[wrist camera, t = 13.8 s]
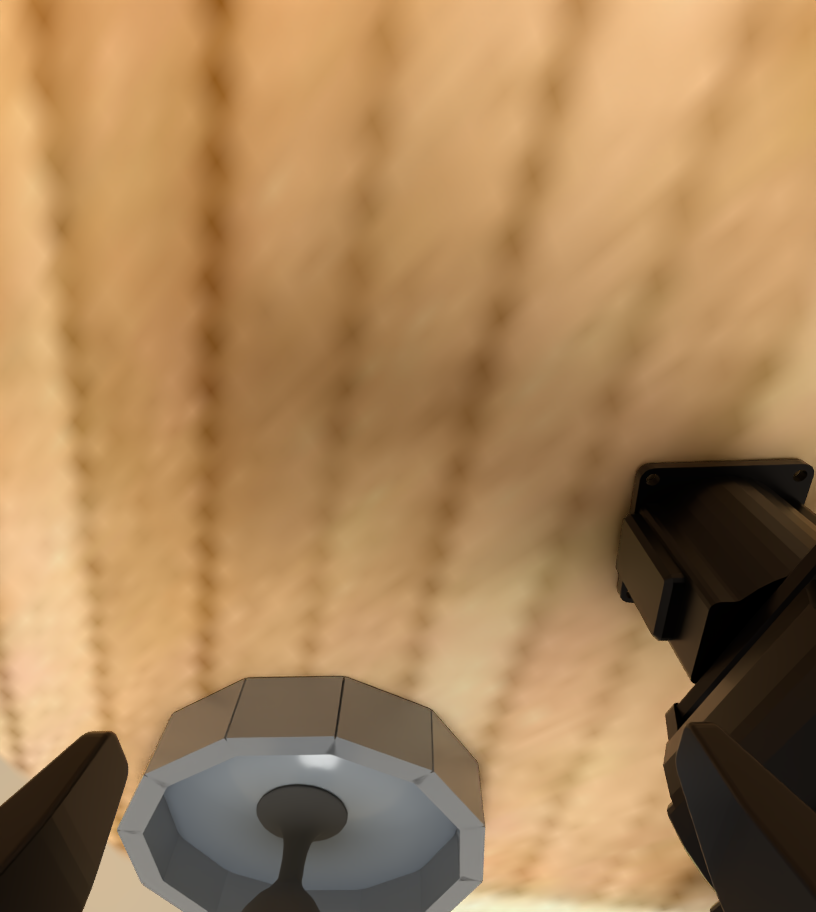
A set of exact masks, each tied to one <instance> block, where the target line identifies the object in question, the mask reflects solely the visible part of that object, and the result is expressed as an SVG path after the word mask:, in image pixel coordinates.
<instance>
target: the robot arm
mask: <svg viewBox="0 0 816 912" xmlns="http://www.w3.org/2000/svg"><path fill="white" fill-rule="evenodd" d="M799 470H800V472H799V474H797V475H796V476H793V475H794V474H795V473H796V472H797V471H799ZM651 474H656V475H655V477H654V478H653V479H652V480H649V481H647V480H646V479H647V477H648V476H649V475H651ZM813 476H814V469H813V467H812V466H810V465H809V464H807V463H806V462H804V461H803V460H799V459H787V460H751V461H716V462H680V463H650V464H646V465H644V466H642V467H641V468H640V469H639V470H638V471H637V474H636V478H635V484H634V490H633V495H632V501H631V507H630V513H629V514H627V516H626V517H625V518H624V519H623V524H622V530H621V536H620V543H619V549H618V555H617V561H616V569H617V571H618V573H619V579H618V585H617V591H618V593H619V595H620V597H621V599H622V600H623V601H625V602H629V603H635V605H636V606H637V608H638V610H639V612H640V614H641V616H642V618H643V619H644V621H645V623H646V625H647V627H648V629H649V630H650V632H651V634H652V635H653V636H654V637H655V638H656V639H657V640H658V641H668V642H669V643H670V645H671V647H672V649H673V650H674V652H675V654H676V656H677V657H678V659H679V661H680V663H681V664H682V666H683V668H684V670H685V671H686V673H687V675H688V677H689V678H690V680H691V681H692V682H693V683H694V684H695V685H694V687H693V688H692V689H691V690H690V691H689V692H688V694H687V695H686V696H685V697H684V698H683V699H682V701H681V702H680V703H675V704H673V706H672V707H671V708H670V709H669V710H668V712H667V713H666V715H665V717H666V725H667V732H668V740H669V741H668V742H667V744H666V750H665V757H664V764H663V767H664V771H665V776H666V780H667V784H668V789H669V793H670V797H671V800H672V802H671V803H670V804H669V805H668V808H667V812H668V816H669V819H670V821H671V823H672V825H673V827H674V829H675V831H676V833H677V835H678V837H679V839H680V841H681V843H682V845H683V847H684V849H685V851H686V852H687V854H688V855H689V857H690V858H691V860H692V861H693V863H694V864H695V866H696V867H697V869H698V870H699V872H700V873H701V875H702V876H703V878H704V879H705V880H706V882H707V883H708V884H709V885H710V886H711V888H712V889H713V890H714V891H715V892H716V894H717V896H718V899H719V901H718V902H717V903H716V904H714V905H713V906H712V907H711V909H710V912H816V514H815V513H813V512H812V511H811V510H810V509H808V508H807V507H806V506H804V503H805V500H806V497H807V494H808V491H809V488H810V485H811V482H812V479H813ZM627 591H628V592H627ZM127 776H128V763H127V760H126V757H125V755H124V752H123V750H122V748H121V745H120V743H119V740H118V738H117V736H116V734H115V733H113V732H112V731H92V732H88V733H85V734H84V735H82V736H81V737H79V738H78V739H77V740H76V741H75V742H74V743H73V744H71V745H70V746H69V747H68V748H67V749H66V750H64V751H63V752H62V753H61V754H60V755H59V756H58V757H56V758H55V759H54V760H53V761H52V762H51V763H49V764H48V765H47V766H46V767H45V768H44V769H43V770H41V771H40V772H39V773H38V774H37V775H36V776H34V777H33V778H32V779H31V780H30V781H29V782H28V783H26V784H25V785H24V786H23V787H22V788H21V789H20V790H18V791H17V792H16V793H15V794H14V795H13V796H11V797H10V798H9V799H8V800H7V801H6V802H4V803H3V804H2V805H1V806H0V912H82V911H83V909H84V906H85V904H86V901H87V899H88V896H89V894H90V891H91V889H92V886H93V883H94V880H95V877H96V874H97V871H98V868H99V865H100V862H101V859H102V856H103V852H104V849H105V846H106V843H107V840H108V837H109V834H110V831H111V827H112V824H113V821H114V818H115V815H116V812H117V809H118V806H119V802H120V799H121V796H122V793H123V790H124V787H125V784H126V780H127Z"/></svg>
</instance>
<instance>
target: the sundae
mask: <svg viewBox="0 0 816 912" xmlns="http://www.w3.org/2000/svg"><path fill="white" fill-rule="evenodd" d="M256 812H257V817H258V819H259V821H260V822H261V824H262V825H263V827H264V828H265V829H266V830H268V831H269V832H270V833H272V834H273V835H275V836H277V837H280V838H283V856H282V862H281V867H280V871H279V876H278V879H277V880H276V881H275V882H274V883H273V884H272V885H271V886H270V887H269V888H267V889H265V890H263V891H262V892H260V893H259V894H258V895H257V896H256V897H255V898H254V899H253V900H252V901H250V902H249V903H248V904H247V905H246V906H245V908H244V909H243V910H242V911H241V912H320V910H319V908H318V907H317V905H316V903H315V901H314V899H313V898H312V897H311V896H310V895H309V894H308V893H307V892H306V891H305V889H304V888H303V886H302V878H303V872H304V865H305V861H306V857H307V853H308V850H309V848H310V845H311V843H312V842H315V841H321V840H326V839H328V838H331V837H333V836H335V835H337V834H338V833H339V832H340V831H341V830H342V829H343V828H344V826H345V825H346V823H347V818H348V813H347V810H346V808H345V806H344V805H343V803H342V802H341V800H339V799H338V798H337V797H336V796H334V795H333V794H331V793H330V792H328V791H326V790H323V789H321V788H317V787H314V786H308V785H288V786H283V787H278V788H276V789H274V790H272V791H270V792H268V793H267V794H265V795H264V796H263V797H262V798H261V799H260V801H259V802H258V804H257V809H256Z"/></svg>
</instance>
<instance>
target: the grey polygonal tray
mask: <svg viewBox="0 0 816 912" xmlns="http://www.w3.org/2000/svg"><path fill="white" fill-rule="evenodd" d="M288 785H308V786H314V787H317V788H321V789H323V790H326V791H328V792H330V793H331V794H333V795H334V796H336V797H337V798H338V799H339V800H341V802H342V803H343V805H344V806H345V808H346V810H347V813H348V818H347V823H346V825H345V826H344V828H343V829H342V830H341V831H340V832H339V833H338V834H337V835H335V836H333V837H331V838H328V839H326V840H321V841H315V842H312V843H311V845H310V848H309V850H308V853H307V857H306V861H305V865H304V872H303V878H302V886H303V888H304V889H305V891H306V892H307V893H308V894H309V895H310V896H311V897H312V898H313V899H314V901H315V903H316V905H317V907H318V908H319V910H320V912H451V911H452V910H453V909H454V908H455V907H456V906H457V905H458V904H459V903H460V902H461V901H462V900H463V899H465V898H466V897H467V896H468V895H469V894H470V893H471V892H472V891H473V890H474V889H475V888H476V887H478V886H479V885H480V884H481V883H482V881H483V864H484V840H485V822H484V813H483V804H482V795H481V786H480V777H479V768H478V763H477V761H476V760H475V759H474V758H473V757H472V755H471V754H470V753H469V752H468V751H467V750H466V749H465V747H464V746H463V745H462V744H461V743H460V742H459V740H458V739H457V738H456V737H455V736H454V735H453V734H452V732H451V731H450V730H449V729H448V728H447V727H446V726H445V724H444V723H443V722H442V721H441V720H440V719H439V718H438V716H437V715H436V714H435V713H434V712H433V711H432V710H431V711H430V709H429V708H426V707H424V706H421V705H418V704H416V703H413V702H410V701H408V700H405V699H403V698H400V697H397V696H395V695H392V694H389V693H387V692H384V691H382V690H379V689H376V688H374V687H371V686H368V685H366V684H363V683H360V682H358V681H355V680H353V679H350V678H347V677H345V678H344V680H343V676H338V677H282V678H247V680H246V679H243V680H241V681H239V682H237V683H235V684H233V685H231V686H228V687H226V688H224V689H222V690H220V691H218V692H216V693H214V694H212V695H210V696H208V697H206V698H204V699H202V700H200V701H198V702H195V703H193V704H191V705H189V706H187V707H185V708H183V709H181V710H179V711H177V712H175V713H173V715H172V716H171V718H170V720H169V722H168V724H167V726H166V728H165V730H164V732H163V734H162V736H161V738H160V740H159V742H158V744H157V746H156V748H155V750H154V752H153V755H152V757H151V759H150V761H149V763H148V765H147V767H146V769H145V771H144V773H143V775H142V777H141V780H140V782H139V784H138V786H137V788H136V790H135V792H134V794H133V797H132V799H131V801H130V803H129V805H128V807H127V809H126V811H125V814H124V816H123V818H122V820H121V822H120V824H119V826H118V828H117V829H118V830H117V832H118V834H119V836H120V838H121V840H122V842H123V845H124V847H125V849H126V851H127V853H128V855H129V858H130V860H131V862H132V864H133V866H134V868H135V871H136V873H137V875H138V877H139V879H140V881H141V883H142V884H143V885H144V886H145V887H147V888H148V889H150V890H151V891H153V892H154V893H156V894H157V895H159V896H160V897H162V898H163V899H165V900H166V901H168V902H169V903H171V904H172V905H174V906H175V907H177V908H178V909H180V910H181V911H183V912H241V911H242V910H243V909H244V908H245V906H246V905H247V904H248V903H249V902H250V901H252V900H253V899H254V898H255V897H256V896H257V895H258V894H259V893H260V892H262V891H263V890H265V889H267V888H269V887H270V886H271V885H272V884H273V883H274V882H275V881H276V880H277V879H278V876H279V871H280V867H281V862H282V856H283V838H280V837H277V836H275V835H273V834H272V833H270V832H269V831H268V830H266V829H265V828H264V827H263V825H262V824H261V822H260V821H259V819H258V817H257V812H256V809H257V804H258V802H259V801H260V799H261V798H262V797H263V796H264V795H265V794H267V793H268V792H270V791H272V790H274V789H276V788H278V787H283V786H288Z"/></svg>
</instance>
